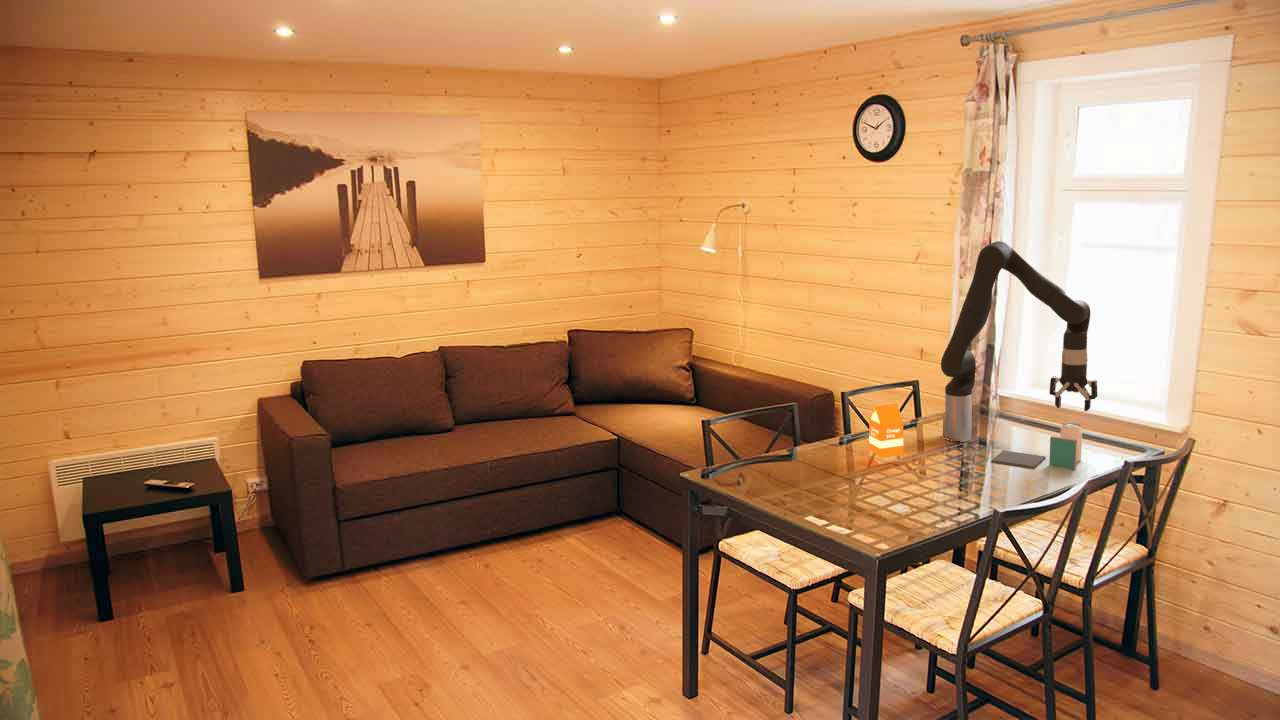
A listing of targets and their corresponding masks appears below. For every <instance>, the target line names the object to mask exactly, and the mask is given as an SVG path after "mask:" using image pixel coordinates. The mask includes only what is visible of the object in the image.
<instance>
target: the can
mask: <svg viewBox="0 0 1280 720" xmlns="http://www.w3.org/2000/svg"><path fill="white" fill-rule="evenodd" d="M1081 427H1082V425H1081V424H1079V423H1074V422H1066V423H1065V422H1064V423H1063V424H1062V426H1061V427H1060V437H1062V438H1070V439H1077V459H1076V463H1078V462H1080V461H1081V460H1082V447H1083V445H1082V443H1083V442H1082V441H1083V429H1082V428H1081Z"/></svg>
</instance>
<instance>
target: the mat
mask: <svg viewBox="0 0 1280 720" xmlns="http://www.w3.org/2000/svg"><path fill="white" fill-rule="evenodd" d="M1046 459H1047V457H1046V455H1045V456H1044V455H1037V454H1032V453H1031V454H1030V453H1024V452H1018V451H1010V450H1001V452H999V453H998V454H997V455H996V456H994V457H993V458H992V459H991V461H992V462H991V463H994V462H997V463H996V464H1000V463H1002V464H1001V465H1007V466H1012V467H1013V466H1014V467H1021V468H1026V469H1027V468H1028V469H1031V470H1032V469H1033V470H1035V469H1036V468H1037V467H1038V466H1039V465H1041V464H1042V463H1043V462H1044V461H1045V460H1046Z"/></svg>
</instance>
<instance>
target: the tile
mask: <svg viewBox="0 0 1280 720" xmlns="http://www.w3.org/2000/svg"><path fill="white" fill-rule="evenodd" d="M1049 441H1050V442H1049V462H1048V463H1049V464H1048V466H1049V467H1056V468H1062V469H1068V470H1077V462H1076V459H1077V439H1070V438H1062V437H1061V436H1054V435H1051V436H1050V437H1049Z"/></svg>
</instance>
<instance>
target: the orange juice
mask: <svg viewBox="0 0 1280 720" xmlns="http://www.w3.org/2000/svg"><path fill="white" fill-rule="evenodd" d="M868 440H869V452H870V451H872V452H873V453H875V454H876V455H878V456H879V457H880V458H881V457H890V456H903V457H904V420H903V417H902V415H901V411H900V408H899V403H891V404H884V405H883V404H882V405H875V406H874V408H873V409H872V412H871V414H870V417H869V439H868Z"/></svg>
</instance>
